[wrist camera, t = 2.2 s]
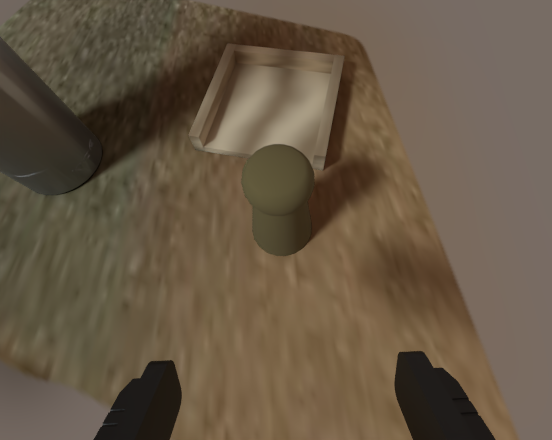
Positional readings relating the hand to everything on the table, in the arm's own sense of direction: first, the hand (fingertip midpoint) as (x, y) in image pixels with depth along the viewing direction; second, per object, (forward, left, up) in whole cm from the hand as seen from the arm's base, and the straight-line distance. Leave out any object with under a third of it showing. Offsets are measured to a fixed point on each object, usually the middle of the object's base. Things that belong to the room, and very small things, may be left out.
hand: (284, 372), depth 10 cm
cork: (-3, +11, -15) cm, 19 cm away
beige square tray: (-8, +26, -15) cm, 31 cm away
